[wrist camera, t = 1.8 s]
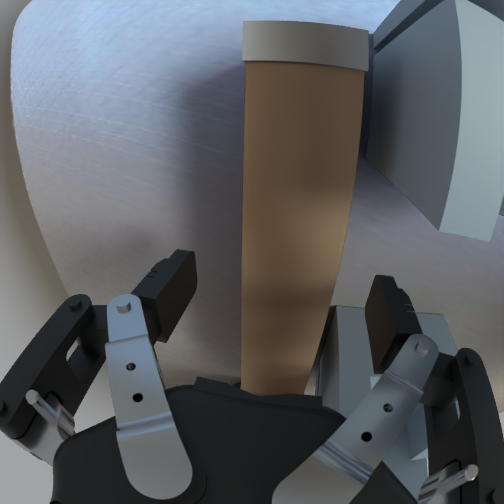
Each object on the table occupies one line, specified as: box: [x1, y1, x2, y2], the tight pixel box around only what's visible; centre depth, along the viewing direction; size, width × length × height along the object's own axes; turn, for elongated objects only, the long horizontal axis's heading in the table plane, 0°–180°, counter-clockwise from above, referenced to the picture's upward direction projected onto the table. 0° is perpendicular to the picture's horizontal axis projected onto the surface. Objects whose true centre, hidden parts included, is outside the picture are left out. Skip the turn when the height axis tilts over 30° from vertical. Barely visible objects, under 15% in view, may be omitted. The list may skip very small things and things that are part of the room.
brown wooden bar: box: [240, 21, 369, 396], centre depth 14 cm, size 4×21×6 cm, turn 178°
